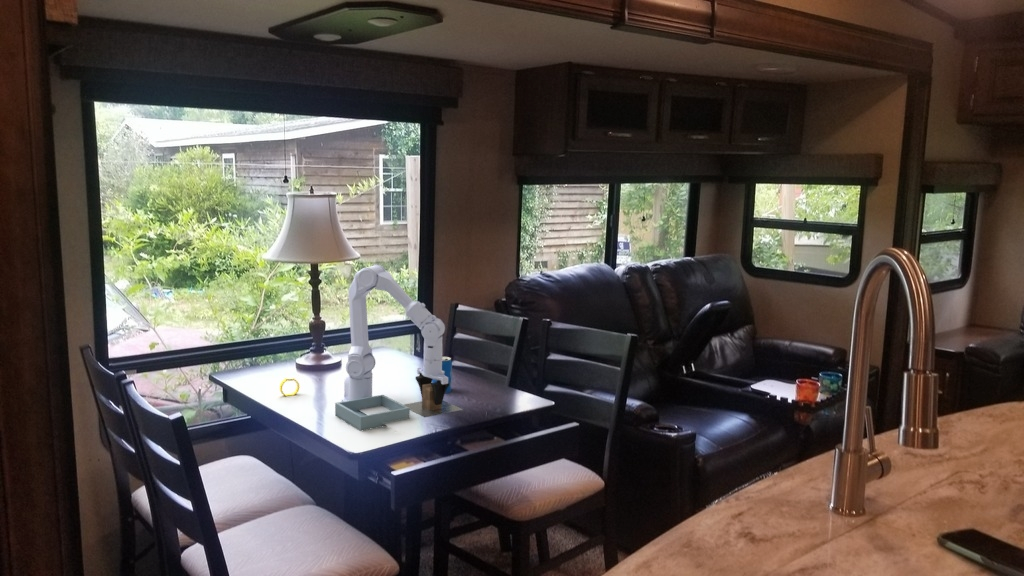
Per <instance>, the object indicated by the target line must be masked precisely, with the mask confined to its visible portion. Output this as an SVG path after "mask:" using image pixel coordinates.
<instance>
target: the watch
mask: <svg viewBox="0 0 1024 576" xmlns="http://www.w3.org/2000/svg"><path fill="white" fill-rule="evenodd" d="M291 381H293V382H295V383H296V388H295V391H293V392H291V393H284V391H283V386H284V384H285V383H286V382H291ZM299 390H300V383H299V381H298V380H297V379H296V378H295V377H294V376H286V377H284V379H283V380H282V381H281V383H280V385H279V391H280V393H281V394H282V395H283V396H285V397H290V396H295V395H296V394H297V393H298V392H299Z"/></svg>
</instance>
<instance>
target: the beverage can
mask: <svg viewBox="0 0 1024 576" xmlns="http://www.w3.org/2000/svg"><path fill="white" fill-rule="evenodd" d="M442 371H444V372H445V373H444V375H445V376H446V377H448V382H449V386H448V388H447V390H446V392H445V394H447V393H451V392H452V379H453V378H452V373H453V372H452V371H453V361H452V357H449V356H443V355H442ZM434 382H437V381H436V380H434V379H433V380H432V382H431V383H434Z"/></svg>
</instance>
